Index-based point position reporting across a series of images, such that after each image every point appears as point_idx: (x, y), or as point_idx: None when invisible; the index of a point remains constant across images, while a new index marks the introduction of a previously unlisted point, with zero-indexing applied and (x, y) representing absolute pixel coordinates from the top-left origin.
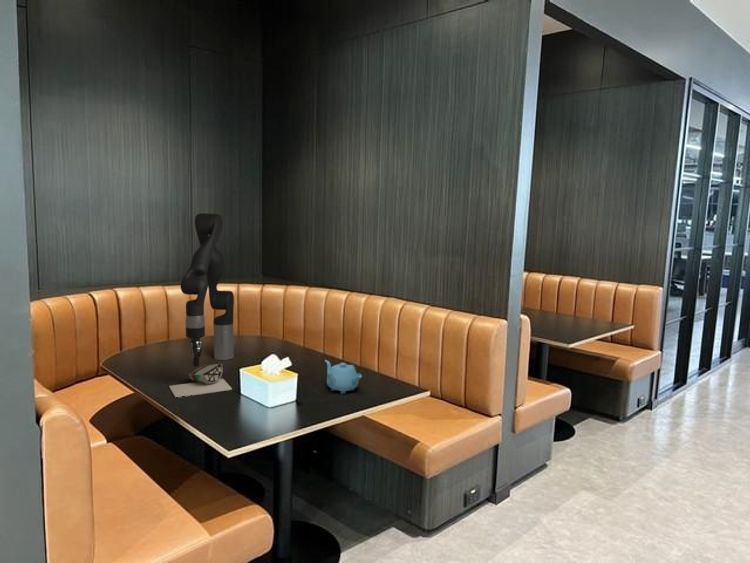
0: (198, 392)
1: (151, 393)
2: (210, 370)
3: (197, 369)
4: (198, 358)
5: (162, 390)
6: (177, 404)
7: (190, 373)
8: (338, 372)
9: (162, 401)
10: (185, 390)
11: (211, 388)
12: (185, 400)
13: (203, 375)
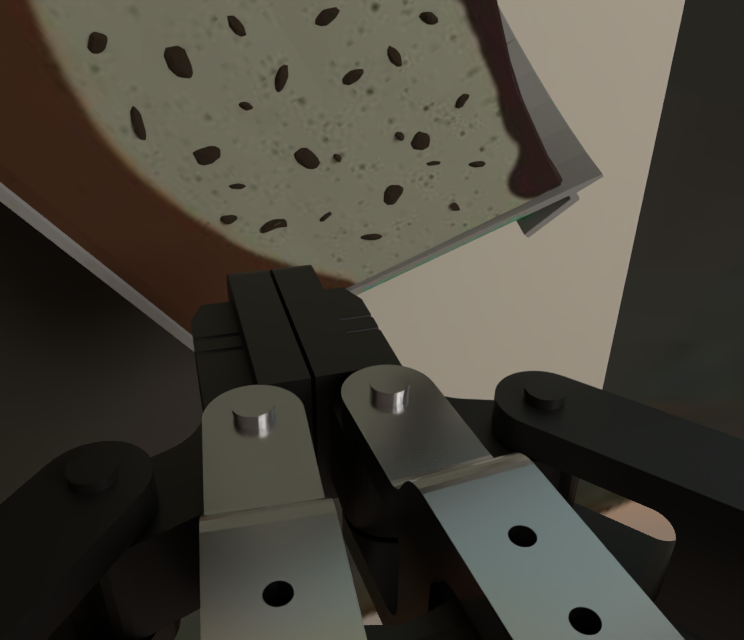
0: (617, 205)
1: (361, 592)
2: (497, 12)
3: (33, 213)
4: (355, 369)
5: None
6: (737, 390)
7: (181, 331)
8: None
9: (603, 494)
10: (476, 334)
11: (575, 17)
12: (698, 331)
13: (583, 174)
